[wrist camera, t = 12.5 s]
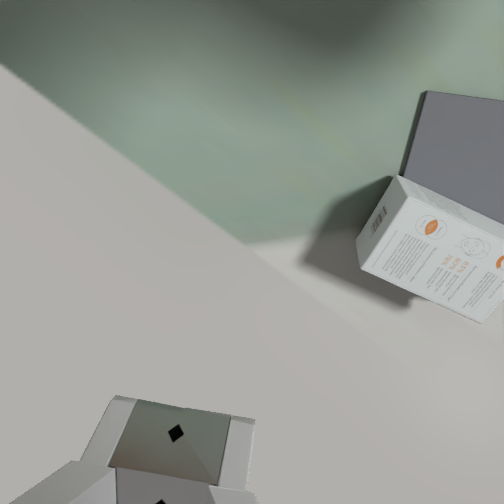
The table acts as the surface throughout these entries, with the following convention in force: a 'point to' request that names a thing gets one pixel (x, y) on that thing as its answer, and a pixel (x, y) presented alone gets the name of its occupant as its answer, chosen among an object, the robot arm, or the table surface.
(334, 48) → the table surface
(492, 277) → the small box
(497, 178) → the mat
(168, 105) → the table surface
